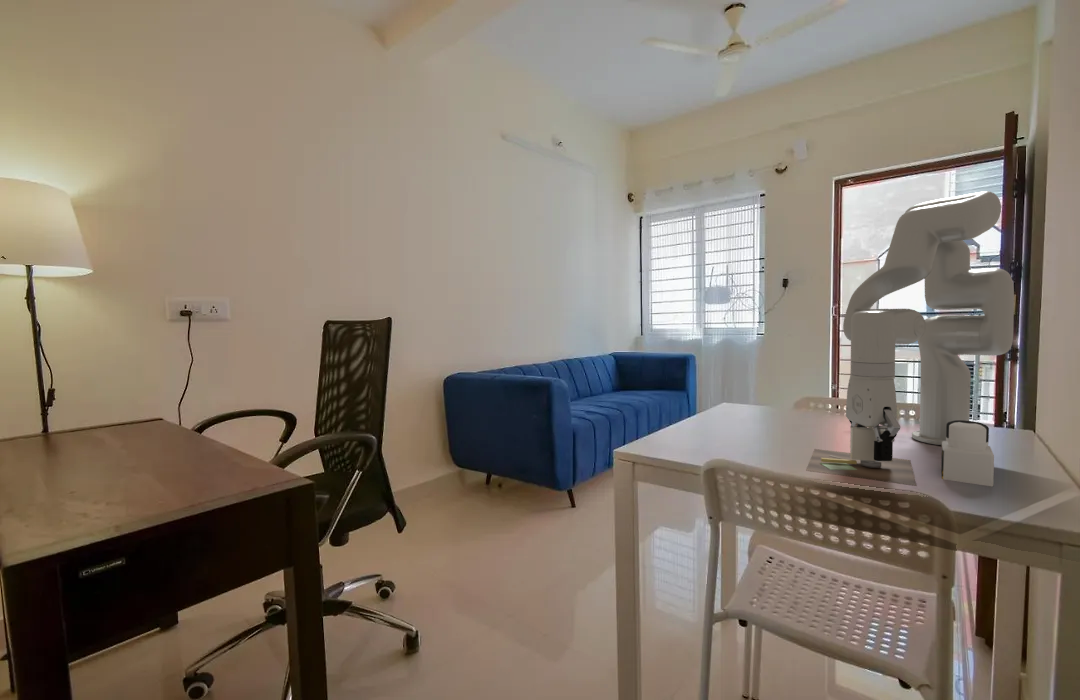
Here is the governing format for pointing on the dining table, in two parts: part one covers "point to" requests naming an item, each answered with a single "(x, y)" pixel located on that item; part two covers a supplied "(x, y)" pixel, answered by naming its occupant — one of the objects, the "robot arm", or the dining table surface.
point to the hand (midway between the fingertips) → (870, 454)
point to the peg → (861, 448)
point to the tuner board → (863, 468)
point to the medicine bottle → (967, 453)
